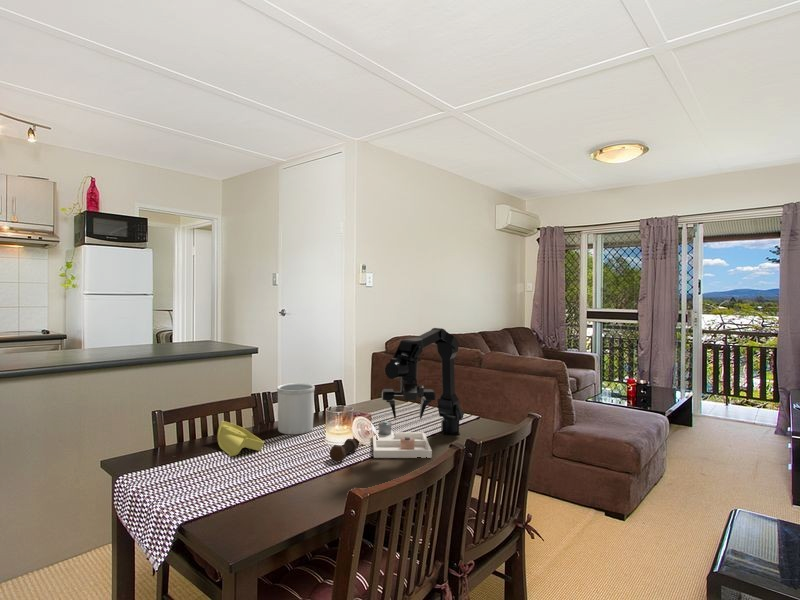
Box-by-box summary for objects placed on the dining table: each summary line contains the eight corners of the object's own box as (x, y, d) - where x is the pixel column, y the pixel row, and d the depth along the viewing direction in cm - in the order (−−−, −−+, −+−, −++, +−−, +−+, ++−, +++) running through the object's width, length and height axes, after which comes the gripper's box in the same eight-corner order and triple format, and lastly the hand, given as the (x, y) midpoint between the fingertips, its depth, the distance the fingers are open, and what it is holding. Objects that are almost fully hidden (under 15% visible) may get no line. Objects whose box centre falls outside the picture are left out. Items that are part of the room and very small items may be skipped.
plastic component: (266, 443, 164) (243, 436, 157) (257, 464, 162) (233, 458, 155) (241, 426, 178) (218, 419, 171) (232, 444, 176) (208, 438, 169)
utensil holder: (268, 429, 186) (269, 386, 186) (297, 421, 198) (298, 381, 198) (292, 437, 177) (293, 392, 177) (321, 429, 189) (322, 386, 189)
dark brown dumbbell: (357, 453, 169) (337, 465, 155) (346, 444, 170) (326, 456, 156) (365, 440, 168) (346, 452, 154) (354, 431, 169) (334, 442, 155)
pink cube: (413, 447, 168) (413, 435, 168) (414, 452, 164) (415, 439, 163) (399, 447, 168) (400, 435, 168) (400, 452, 163) (401, 439, 163)
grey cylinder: (390, 431, 187) (391, 420, 187) (391, 435, 182) (391, 423, 182) (378, 431, 187) (378, 419, 187) (378, 435, 182) (379, 423, 182)
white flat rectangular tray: (421, 431, 190) (421, 425, 190) (431, 457, 161) (431, 450, 161) (372, 431, 188) (372, 425, 188) (373, 457, 159) (374, 450, 159)
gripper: (384, 379, 156) (383, 425, 157) (439, 379, 158) (437, 425, 159) (382, 373, 167) (381, 416, 168) (433, 373, 169) (432, 416, 170)
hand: (407, 418), depth 166 cm, fingers open, 9 cm apart
